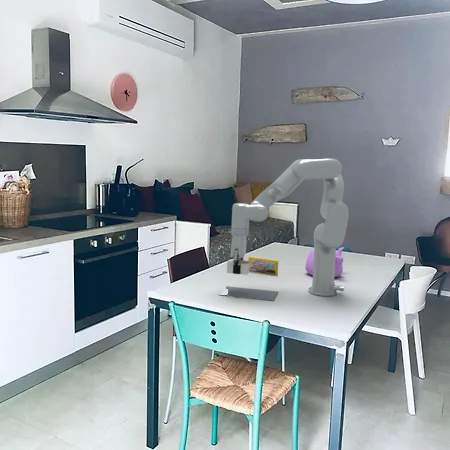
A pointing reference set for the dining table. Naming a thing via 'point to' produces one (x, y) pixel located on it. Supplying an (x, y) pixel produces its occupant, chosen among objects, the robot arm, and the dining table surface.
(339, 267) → the teapot
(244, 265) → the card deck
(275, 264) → the candy box
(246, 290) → the mat
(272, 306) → the dining table surface
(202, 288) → the dining table surface
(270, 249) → the dining table surface
